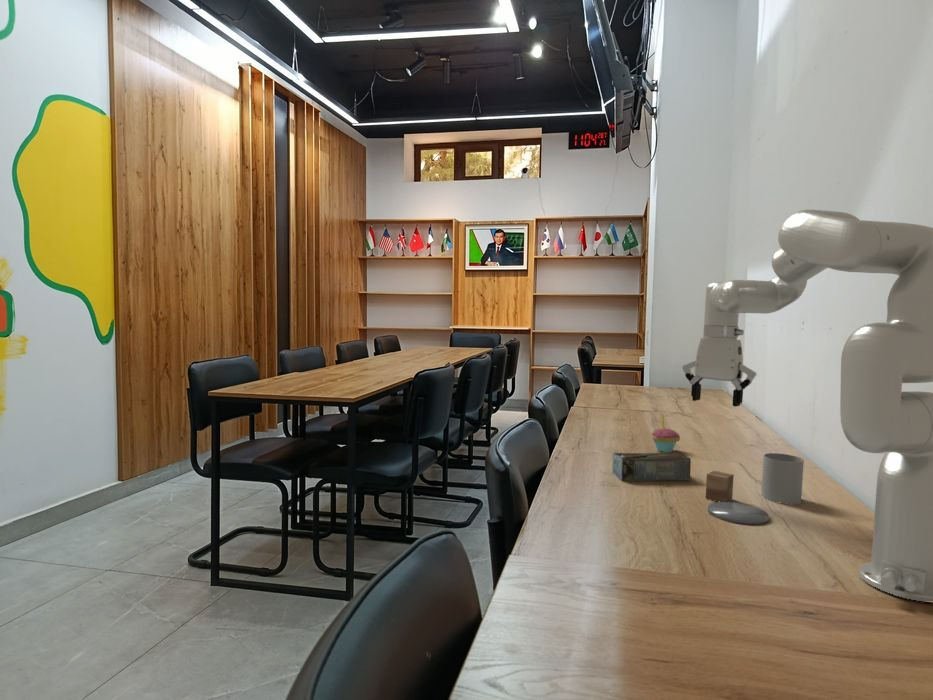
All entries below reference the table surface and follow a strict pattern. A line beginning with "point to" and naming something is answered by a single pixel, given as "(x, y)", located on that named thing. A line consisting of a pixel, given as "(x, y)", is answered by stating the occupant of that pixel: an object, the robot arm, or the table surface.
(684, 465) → the dark grey rectangular box
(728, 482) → the block
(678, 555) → the table surface
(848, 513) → the table surface
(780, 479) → the cup
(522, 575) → the table surface
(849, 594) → the table surface
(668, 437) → the cupcake
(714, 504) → the coaster
